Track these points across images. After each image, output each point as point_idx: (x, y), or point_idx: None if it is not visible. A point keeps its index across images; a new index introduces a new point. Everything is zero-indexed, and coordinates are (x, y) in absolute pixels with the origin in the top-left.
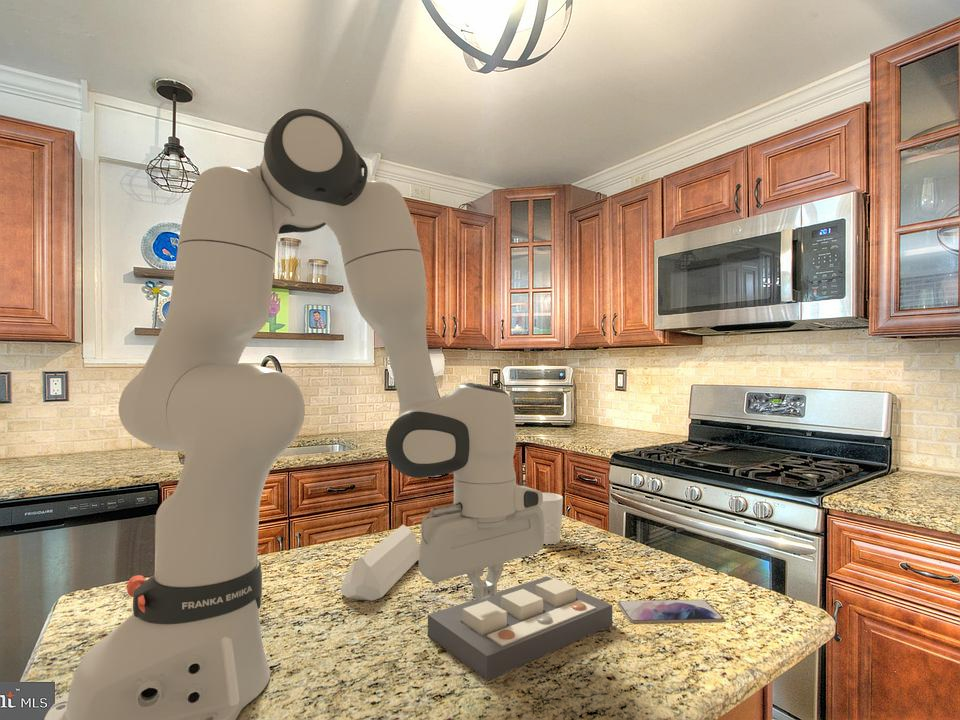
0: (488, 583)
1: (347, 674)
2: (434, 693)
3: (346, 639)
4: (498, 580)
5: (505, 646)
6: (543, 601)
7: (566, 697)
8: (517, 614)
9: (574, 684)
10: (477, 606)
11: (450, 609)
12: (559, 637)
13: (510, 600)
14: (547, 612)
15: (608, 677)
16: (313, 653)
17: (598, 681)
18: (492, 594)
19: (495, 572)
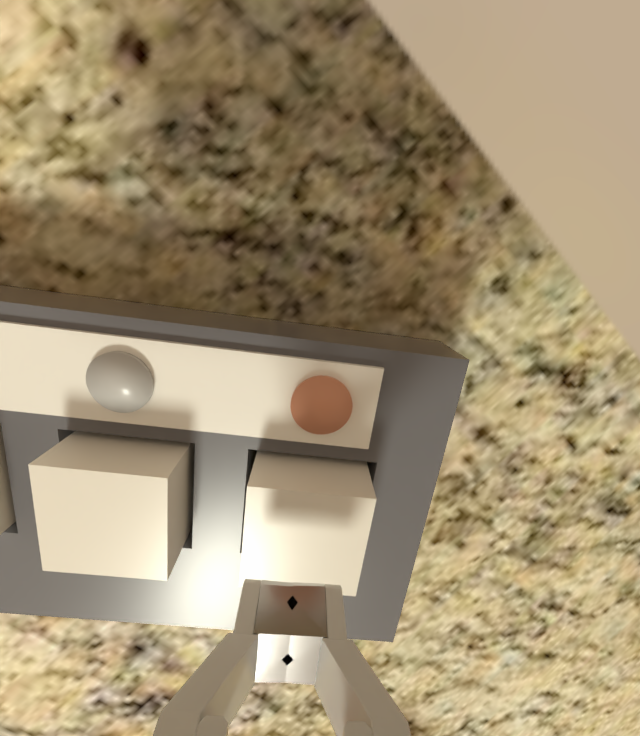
0: (271, 652)
1: (618, 572)
2: (566, 395)
3: (516, 670)
4: (220, 643)
5: (376, 359)
6: (7, 487)
7: (344, 102)
8: (182, 472)
9: (267, 128)
10: (302, 577)
11: None
12: (125, 307)
13: (163, 536)
14: (64, 414)
15: (140, 56)
16: (598, 666)
17: (189, 71)
18: (271, 584)
19: (215, 710)
